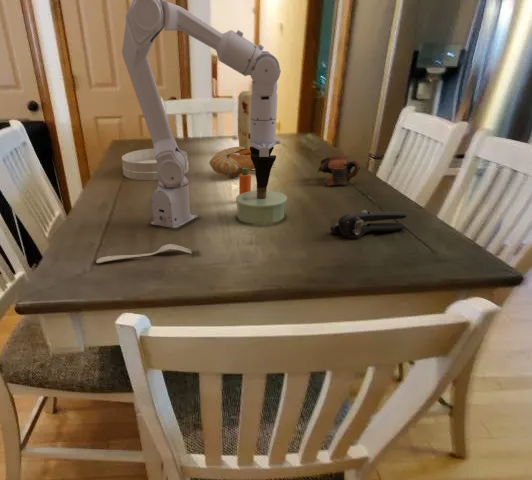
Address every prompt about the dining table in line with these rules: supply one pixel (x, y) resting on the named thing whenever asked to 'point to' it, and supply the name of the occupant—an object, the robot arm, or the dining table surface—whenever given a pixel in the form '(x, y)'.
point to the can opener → (355, 226)
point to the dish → (143, 165)
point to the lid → (261, 198)
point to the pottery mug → (338, 170)
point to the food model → (244, 118)
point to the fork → (163, 248)
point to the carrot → (244, 181)
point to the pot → (260, 214)
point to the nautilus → (232, 161)
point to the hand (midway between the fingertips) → (261, 182)
